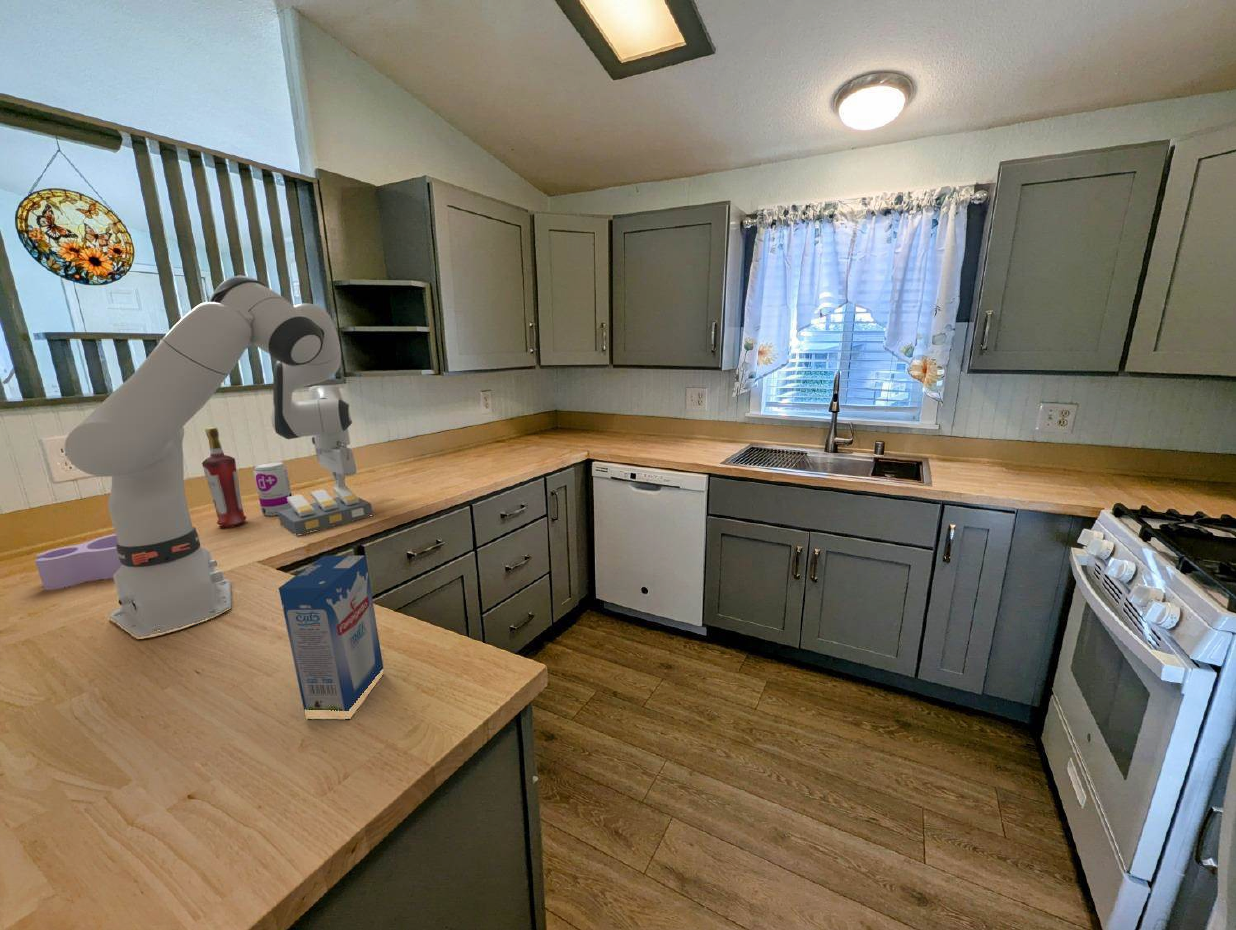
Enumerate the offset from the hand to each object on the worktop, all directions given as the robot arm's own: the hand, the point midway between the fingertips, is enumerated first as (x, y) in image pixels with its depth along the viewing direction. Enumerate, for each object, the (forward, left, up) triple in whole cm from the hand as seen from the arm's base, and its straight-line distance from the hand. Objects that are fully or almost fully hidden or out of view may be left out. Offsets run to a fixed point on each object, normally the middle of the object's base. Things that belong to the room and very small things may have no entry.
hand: (340, 485), depth 153 cm
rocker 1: (-4, +12, -2) cm, 13 cm away
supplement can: (+16, +13, -9) cm, 23 cm away
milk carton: (-88, +32, -9) cm, 94 cm away
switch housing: (-4, +6, -8) cm, 11 cm away
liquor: (+14, +25, -9) cm, 30 cm away
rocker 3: (-4, 0, -2) cm, 4 cm away
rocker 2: (-4, +6, -2) cm, 8 cm away
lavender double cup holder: (0, +52, -9) cm, 53 cm away
